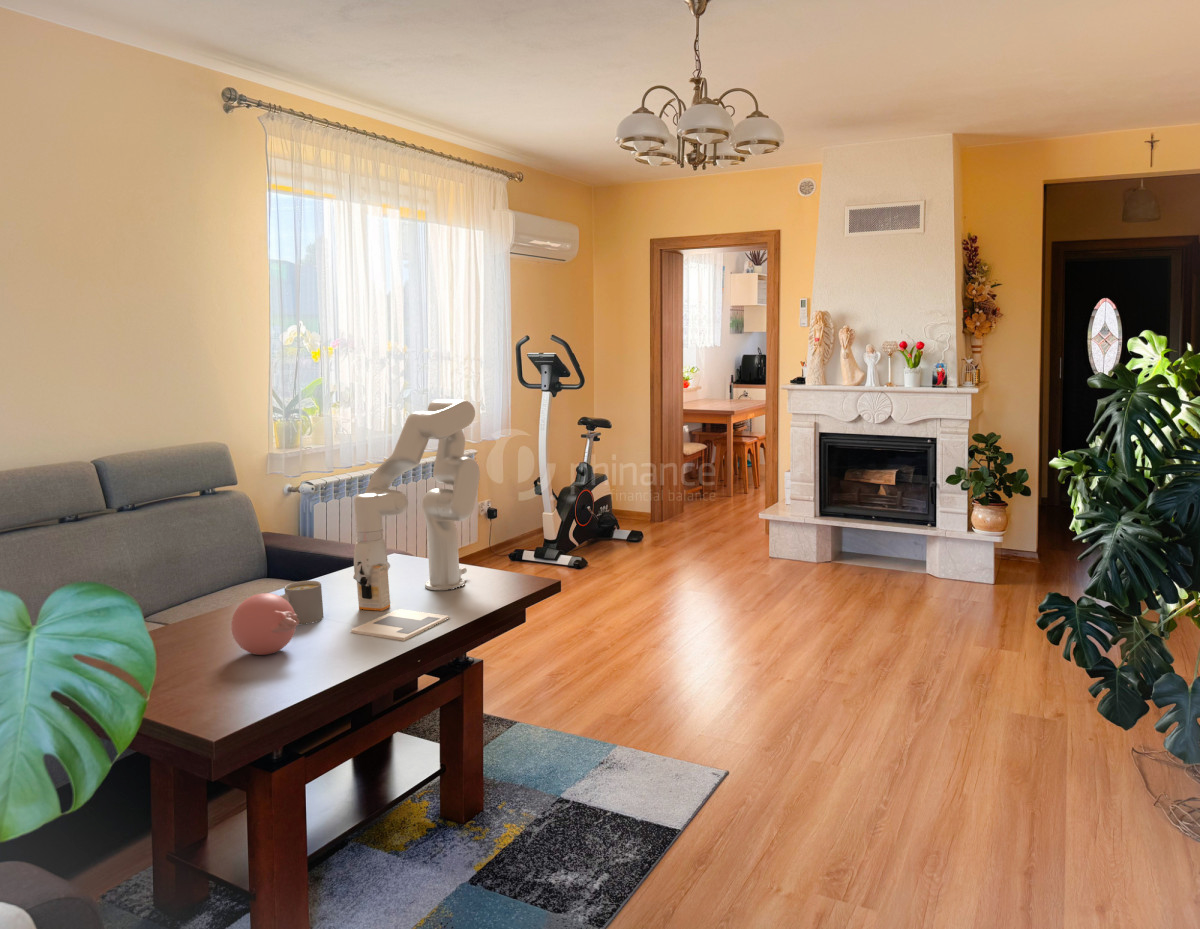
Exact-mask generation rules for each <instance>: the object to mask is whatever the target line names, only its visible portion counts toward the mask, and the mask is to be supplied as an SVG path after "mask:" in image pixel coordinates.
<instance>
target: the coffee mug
mask: <svg viewBox="0 0 1200 929" xmlns="http://www.w3.org/2000/svg"><path fill="white" fill-rule="evenodd" d="M279 596H280V597H282V598H284V599H285V600H287V601H288V602H289V603H290V605H291V606H292V608H293V609H294V612H295V614H296V615H297V619H299V624H302V625H307V624H306V623H310V624H313V623H312V622H314V623H316V621H317V622H319V620H320V621H321V619H322V618H323V619H324V605H323V590H322V582H320V581H317V580H301V581H295V582H291V583H288V584H286V585H285V586H284V594H281V595H279ZM323 619H322V620H323Z"/></svg>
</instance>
